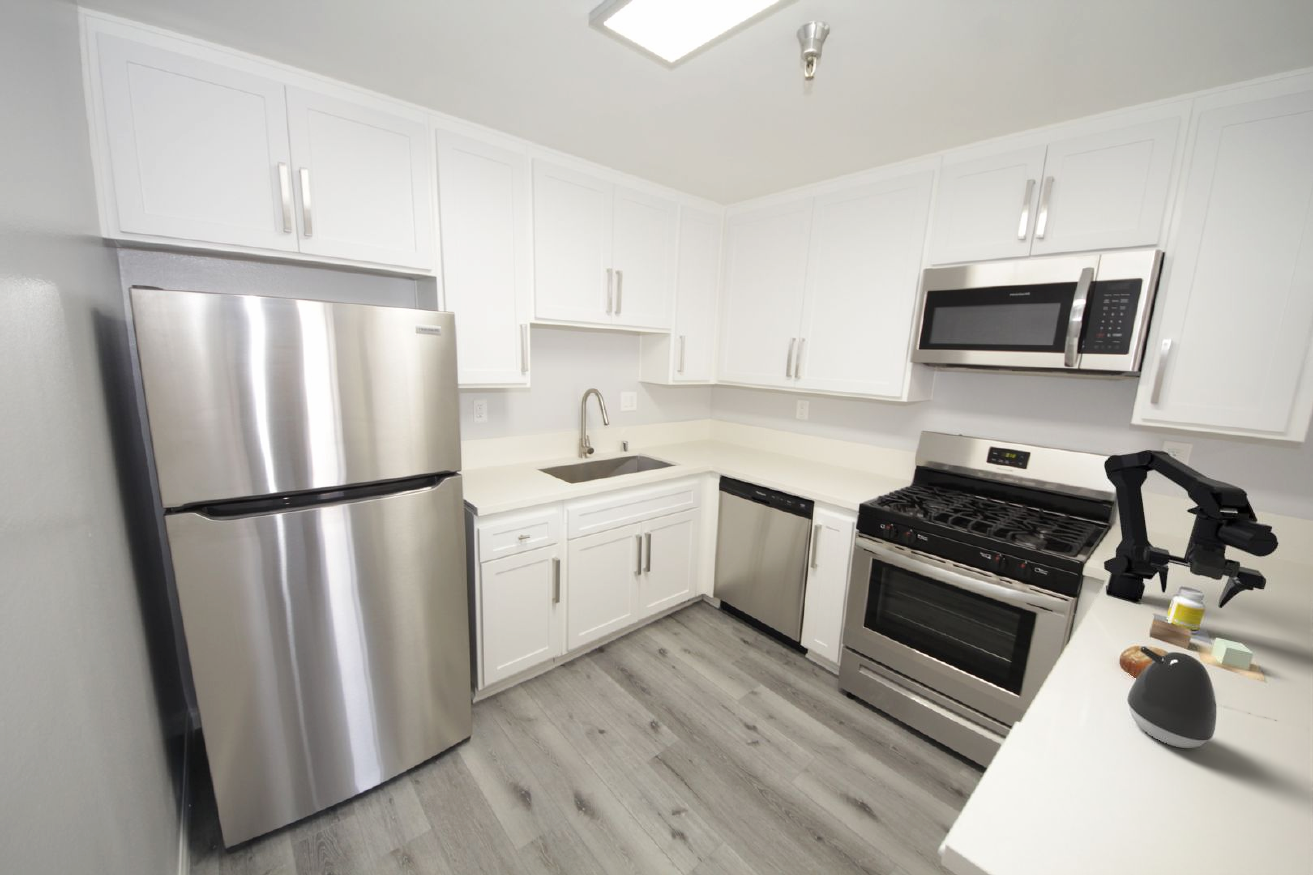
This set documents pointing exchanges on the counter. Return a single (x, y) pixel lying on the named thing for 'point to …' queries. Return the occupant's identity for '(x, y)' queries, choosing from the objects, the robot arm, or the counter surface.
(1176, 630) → the walnut block
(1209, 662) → the cork coaster
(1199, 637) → the slate coaster
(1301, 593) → the counter surface
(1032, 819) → the counter surface
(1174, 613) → the supplement bottle
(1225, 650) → the sage cube
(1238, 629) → the counter surface
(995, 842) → the counter surface
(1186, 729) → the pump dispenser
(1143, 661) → the bread roll
